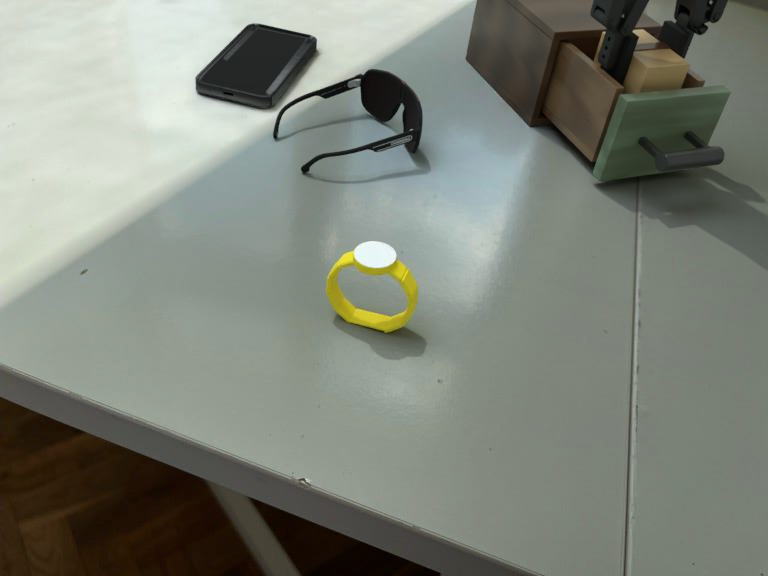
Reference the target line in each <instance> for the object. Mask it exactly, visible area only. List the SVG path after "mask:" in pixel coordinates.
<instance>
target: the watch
mask: <svg viewBox="0 0 768 576" xmlns="http://www.w3.org/2000/svg"><path fill="white" fill-rule="evenodd" d="M397 258H398V254H397V252H396V250H395V249H394V248H393V246H391V245H389V244H388V243H385V242H382V241H377V240H371V241H370V240H369V241H364V242H361V243H360V244H358V245H357V246H356V247H355V248H354V249H353V250H351V251H348V252H345V253H343V254H342V256H341V257H340V258H339V259H338V260H337V261H336V262H335V264H333V267H332V268H331V269H330V271H329V273H328V274H327V277H326V285H325V287H326V288H325V293H326V296H327V299H328V301H329V303H330V305H331V307H332V309H333V310H334V311H335V312H336V313H337V314H338V315H339V316H340V317H341V318H342V319H343V320H345V322H346V323H349V324H354V325H357V326H361V327H365V328H369V329H374V330H377V331H382V332H384V333H385V334H387V333H391V332H393V331H396V330H398V329H401V328H404V326H406V324H407V323H408V321H409V320H410V319H411V318H412V316H413V314H414V312H415V310H416V308H417V305H418V302H419V286H418V282H417V281H416V279H415V277H414V276H413V273H412V272H411V270H410V269H409V268H408V267H407V266H406V265H405V264H404V263H402V262H401V261H400V260H399V259H397ZM352 266H353V267H355V269H356V270H357V271H359V272H361V273H363V274H365V275H368V276H377V277H378V276H383V275H384V276H385V275H389V276H390V277H392V278H393V279H395V281H397V282H398V283H399V286H401V288H402V290H403V292H404V293H405V296H406V297H407V300H406V301H407V302H406V303H407V307H406V309H405V310H404V311H403V312H400V313H397V314H395V315H392V316H390V315H386V314H382V313H377V312H373V311H369V310H366V309H365V310H364V309H361V308H357V307H356V306H355V305H353V303H352V302H350V301H349V300H348V299H347V298H346V297H345V296H344V294H343V291H342V289H341V287H340V285H339V283H338V281H339V273H340V271H342V269H345V268H348V267H352Z"/></svg>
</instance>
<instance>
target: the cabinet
mask: <svg viewBox="0 0 768 576" xmlns="http://www.w3.org/2000/svg"><path fill="white" fill-rule="evenodd" d="M593 1H594V0H476V1H475V8H474V12H473V17H472V23H471V27H470V33H469V37H468V43H467V49H466V54H465V60H466V61H467V62H468V63H469V64H470V65H471V66H472V67H473V68H474V70H476V72H477V73H479V75H480V76H481V77H482V78H483V79H484V80H485V81H486V82H487V83H488V84H489V85H490V87H492V88H493V90H494V91H495V92H496V93H497V94H498V95H499V96H500V97H501V98H502V99H503V100H504V101H505V102H506V103H507V104H508V105H509V106H510V107H511V109H512V110H514V111H515V112H516V113H517V115H518V116H520V118H521V119H522V120H523V121H524V122H525V123H526V124H527V125H528V126H529V127H534V126H535V127H536V126H545V125H554V124H553V123H552V122H551V121H550V120H549V119H548V118H547V117H546V116H545V115H544V114H543V113H542V112H541V107H542V103H543V100H544V96H545V93H546V89H547V85H548V82H549V78H550V74H551V71H552V67H553V64H554V60H555V56H556V53H557V49H558V46H559V42H560V40H567V39H583V38H600V37H601V35H602V32H606V27H604V26H603V25H602V24H601V23H599V22H598V21H597V20H595V19H594V18H593V17H592V16H591V14H590V11H591V8H592V4H593ZM623 16H624V14H623ZM662 26H663V24H660V22H658V21H656V20H655V19H654V18H652V17H650V15H648V14H646V13H645V12H643V13H642V15H641V17H640V19H639V21H638V22H637V24H636V26H635V28H634V30H639V29H643V30H645V31H646V32H647V33H649V34H650V35H652V36H653V37H654V38H656V39H657V40H658V37H659V35H660V32H661V29H662Z"/></svg>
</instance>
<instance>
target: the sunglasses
mask: <svg viewBox="0 0 768 576" xmlns="http://www.w3.org/2000/svg"><path fill="white" fill-rule="evenodd" d="M357 88H360V101H361V105H362V107H363V108H364V109H365V111H366V112H367V113H368V114H369V115H370V116H372V117H373V118H374V119H376V121H379V122H382V123H388V122H390V121H391V120H392V119H393V118H394V117H395V116H396V114H397V113H398V111H399V110H400V107H401V105H403V110H402V114H401V115H402V116H401V117H402V128H403V129H402V131H403V132H401V133H398V134H395V135H391V136H388V137H386V138H382V139H379V140H376V141H373V142H370V143H367V144H364V145H360V146H358V147H354V148H351V149H350V148H349V149H346V150H340V151H332V152H325V153H321V154H317V155H316V156H313V158H311V159H310V160H309V161H307V162H306V163H304V164H302V166H301V167H300V171H301V172H302V173H303V174H306V173H309V172H310V169H311V167H312V166H313V165H314V164H315V163H317V162H318V161H321V160H324V159H327V158H334V157H341V156H347V155H352V154H357V153H360V152H363V151H367V150H368V151H373V152H375V153H380V152H384V151H387V150H389V149H393V148H396V147H399V146H402V145H404V147H405V148H406V149H407V151H408V152H409V153H410V154H412V155H416V154H417V151H418V149H419V146H420V142H421V138H422V133H423V132H422V131H423V120H424V118H423V117H424V116H423V115H424V114H423V108H422V104H421V100H420V99H419V97H418V95H417V93H416V92H415V91H414V90H413V88H412V87H411V86H410V85H409V84H408V83H407V82H406V81H405V80H403V79H402V78H401V77H399V76H398V75H396V74H394V73H392V72H390V71H388V70H383V69H378V68H370V69H367V70H366V71H365V72H364V74H363V73H359V74H356V75H355V76H352V77H350V78H347V79H344V80H342V81H339V82H337V83H336V82H335V83H334V84H331V85H328V86H326V87H325V86H324V87H322V88H320V89H317V90H314V91H311V92H308V93H306V94H303V95H301V96H299V97H296V98H295V99H293V100H291V101H289V102H288V103H287V104H285V105H284V106H283V107H282V108H281V109H280V111H279V112H278V114H277V116H276V119H275V123H274V127H273V131H272V132H273V133H272V137H273V139H274V140H277V139H278V137H279V130H280V129H279V128H280V124H281V120H282V118H283V115H284V114H285V112H286V111H288V110H289V109H290V108H292V107H293V106H295V105H297V104H298V103H301V102H303V101H305V100H308V99H310V98H313V97H320V98H322V99H325V100H327V99H331V98H332V97H336V96H338V95H340V94H344V93H346V92H349V91H352V90H354V89H357Z"/></svg>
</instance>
